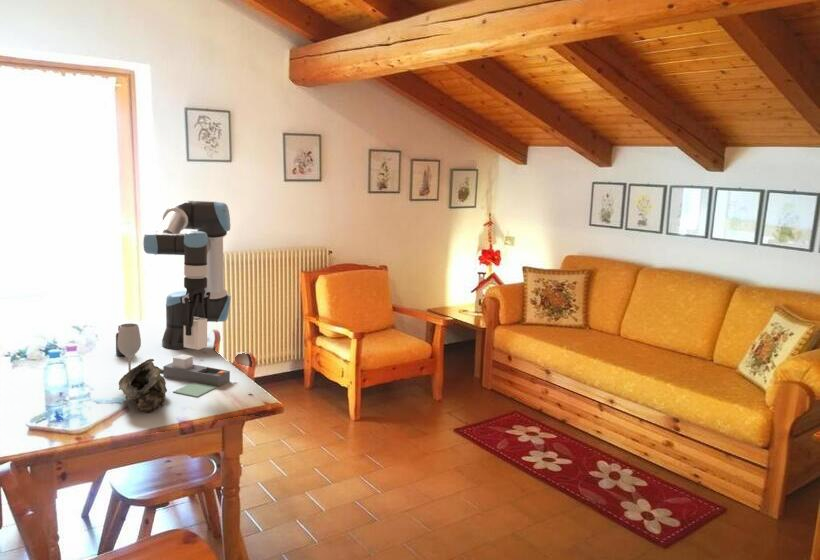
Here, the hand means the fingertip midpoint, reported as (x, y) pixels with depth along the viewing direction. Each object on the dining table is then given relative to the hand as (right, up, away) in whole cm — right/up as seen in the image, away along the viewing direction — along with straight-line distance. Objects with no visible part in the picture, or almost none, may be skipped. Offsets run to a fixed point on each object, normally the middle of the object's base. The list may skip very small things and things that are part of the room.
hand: (195, 342), depth 224 cm
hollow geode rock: (-13, -20, -12) cm, 26 cm away
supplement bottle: (-41, -9, +38) cm, 57 cm away
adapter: (-10, -12, +16) cm, 22 cm away
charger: (0, -2, 0) cm, 2 cm away
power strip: (-8, -15, +16) cm, 23 cm away
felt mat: (-1, -17, +3) cm, 18 cm away
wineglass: (-26, -15, +7) cm, 31 cm away
